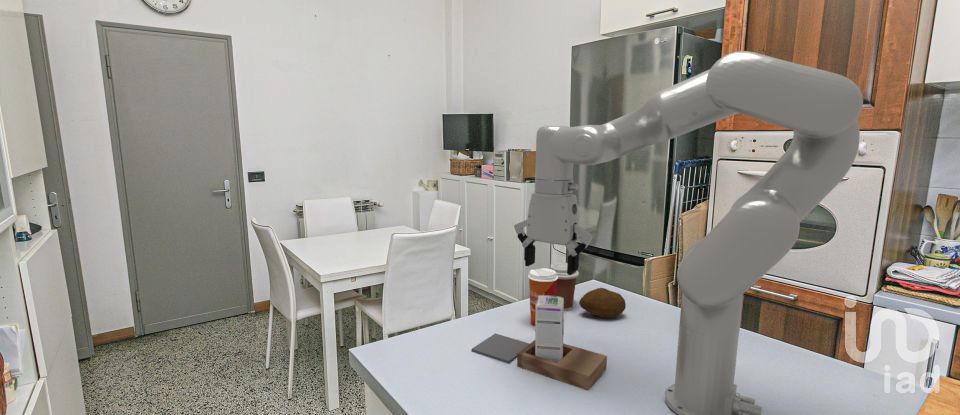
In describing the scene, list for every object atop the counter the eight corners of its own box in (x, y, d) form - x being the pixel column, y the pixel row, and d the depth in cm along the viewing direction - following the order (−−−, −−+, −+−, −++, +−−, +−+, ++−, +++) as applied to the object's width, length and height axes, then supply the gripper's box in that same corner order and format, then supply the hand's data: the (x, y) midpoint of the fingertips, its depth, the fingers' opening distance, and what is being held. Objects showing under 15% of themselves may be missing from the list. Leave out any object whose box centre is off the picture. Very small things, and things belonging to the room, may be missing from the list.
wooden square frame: (606, 369, 98) (607, 355, 98) (588, 390, 90) (588, 376, 90) (538, 348, 107) (539, 336, 107) (517, 366, 99) (517, 353, 99)
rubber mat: (531, 346, 108) (531, 344, 108) (509, 363, 100) (509, 361, 100) (495, 335, 114) (495, 333, 114) (471, 351, 106) (471, 348, 106)
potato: (630, 321, 123) (631, 293, 122) (584, 323, 122) (585, 294, 120) (618, 309, 131) (619, 283, 130) (575, 311, 130) (576, 284, 128)
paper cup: (521, 320, 123) (522, 269, 121) (546, 315, 126) (547, 266, 124) (537, 332, 116) (538, 278, 114) (562, 326, 119) (564, 274, 117)
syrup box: (562, 371, 97) (564, 306, 95) (533, 369, 98) (535, 303, 96) (562, 358, 103) (565, 296, 100) (536, 356, 104) (537, 294, 101)
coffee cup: (566, 299, 139) (567, 260, 137) (584, 309, 131) (585, 268, 129) (539, 303, 136) (540, 263, 134) (555, 314, 127) (557, 272, 125)
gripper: (601, 189, 92) (596, 272, 95) (525, 182, 102) (523, 258, 105) (586, 193, 86) (582, 281, 89) (507, 186, 96) (505, 265, 99)
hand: (550, 268), depth 97 cm, fingers open, 9 cm apart
